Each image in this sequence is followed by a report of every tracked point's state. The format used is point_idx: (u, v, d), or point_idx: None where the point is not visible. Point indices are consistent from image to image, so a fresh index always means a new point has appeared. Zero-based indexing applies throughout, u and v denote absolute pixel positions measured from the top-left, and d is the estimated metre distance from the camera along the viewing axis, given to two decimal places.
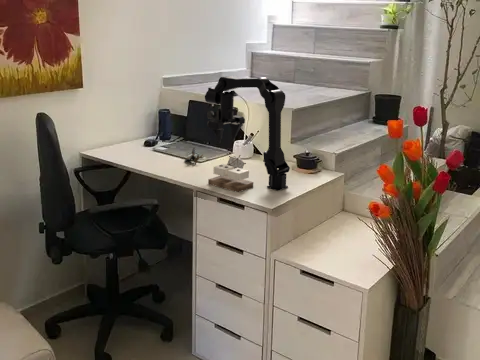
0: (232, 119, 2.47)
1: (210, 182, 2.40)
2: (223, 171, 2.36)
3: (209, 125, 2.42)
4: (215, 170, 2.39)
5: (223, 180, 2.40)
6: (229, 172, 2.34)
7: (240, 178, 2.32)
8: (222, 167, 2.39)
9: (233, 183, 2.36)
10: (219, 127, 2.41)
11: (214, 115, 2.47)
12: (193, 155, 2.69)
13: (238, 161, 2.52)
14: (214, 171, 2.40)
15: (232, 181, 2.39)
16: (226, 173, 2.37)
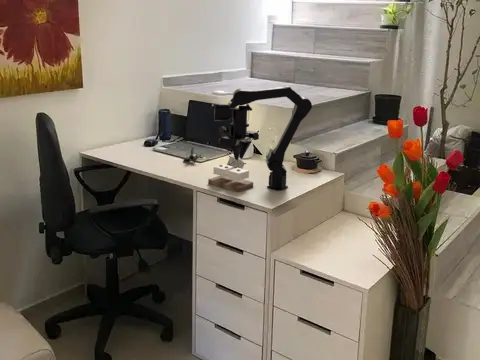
0: (245, 135, 2.29)
1: (210, 182, 2.40)
2: (223, 171, 2.36)
3: (221, 142, 2.25)
4: (215, 170, 2.39)
5: (223, 180, 2.40)
6: (229, 172, 2.34)
7: (240, 178, 2.32)
8: (222, 167, 2.39)
9: (233, 183, 2.36)
10: (232, 144, 2.23)
11: (226, 131, 2.30)
12: (192, 155, 2.70)
13: (238, 161, 2.52)
14: (214, 171, 2.40)
15: (232, 181, 2.39)
16: (226, 173, 2.37)
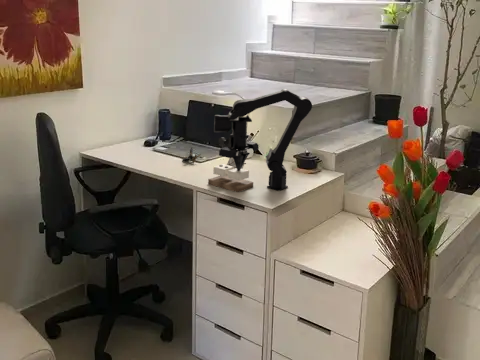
0: (245, 146, 2.31)
1: (210, 182, 2.40)
2: (223, 171, 2.36)
3: (221, 153, 2.26)
4: (215, 170, 2.39)
5: (223, 180, 2.40)
6: (229, 172, 2.34)
7: (240, 178, 2.32)
8: (222, 167, 2.39)
9: (233, 183, 2.36)
10: (232, 156, 2.25)
11: (226, 142, 2.31)
12: (191, 154, 2.70)
13: None
14: (214, 171, 2.40)
15: (232, 181, 2.39)
16: (226, 173, 2.37)
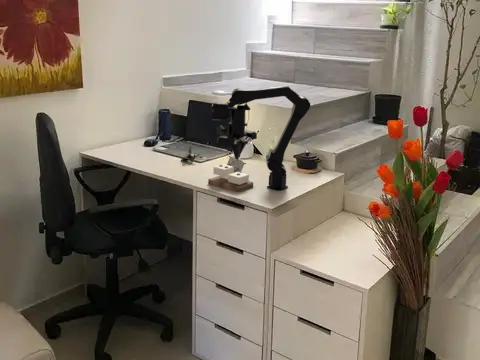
0: (244, 135, 2.30)
1: (210, 182, 2.40)
2: (223, 171, 2.36)
3: (219, 141, 2.25)
4: (215, 170, 2.39)
5: (223, 180, 2.40)
6: (229, 176, 2.35)
7: (240, 182, 2.33)
8: (222, 167, 2.39)
9: (233, 183, 2.36)
10: (230, 144, 2.24)
11: (224, 130, 2.31)
12: (190, 154, 2.71)
13: (238, 161, 2.52)
14: (214, 171, 2.40)
15: None
16: (226, 173, 2.37)
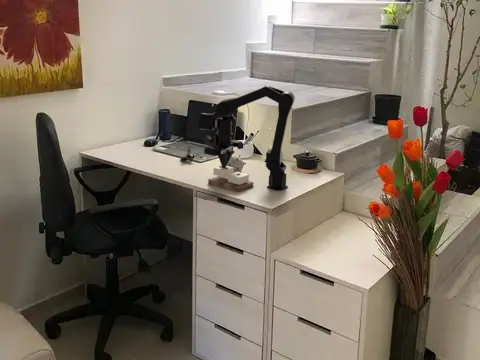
0: (230, 145, 2.36)
1: (210, 182, 2.40)
2: (223, 172, 2.36)
3: (206, 151, 2.31)
4: (215, 171, 2.39)
5: (223, 180, 2.40)
6: (229, 176, 2.35)
7: (240, 182, 2.33)
8: (222, 168, 2.39)
9: (233, 183, 2.36)
10: (216, 154, 2.30)
11: (211, 140, 2.36)
12: (189, 154, 2.72)
13: (238, 161, 2.52)
14: (214, 172, 2.40)
15: None
16: (226, 174, 2.37)
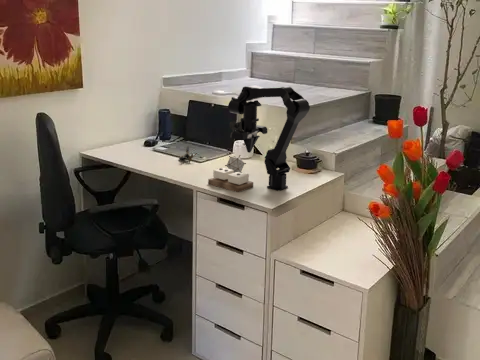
0: (256, 129, 2.41)
1: (210, 182, 2.40)
2: (223, 174, 2.37)
3: (233, 136, 2.36)
4: (215, 173, 2.40)
5: (223, 180, 2.40)
6: (229, 176, 2.35)
7: (240, 182, 2.33)
8: (222, 170, 2.39)
9: (233, 183, 2.36)
10: (243, 138, 2.35)
11: (237, 125, 2.41)
12: (187, 153, 2.72)
13: (238, 161, 2.52)
14: (214, 174, 2.40)
15: None
16: (226, 176, 2.38)
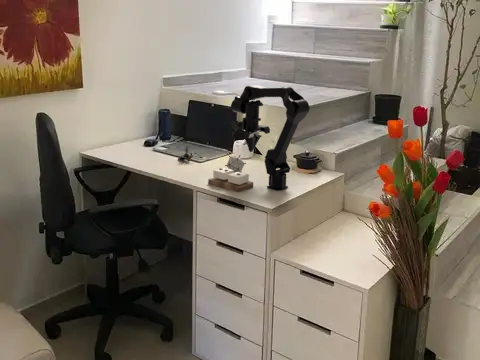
0: (257, 129, 2.41)
1: (210, 182, 2.40)
2: (223, 174, 2.37)
3: (234, 135, 2.37)
4: (215, 173, 2.40)
5: (223, 180, 2.40)
6: (229, 176, 2.35)
7: (240, 182, 2.33)
8: (222, 170, 2.39)
9: (233, 183, 2.36)
10: (245, 137, 2.35)
11: (239, 125, 2.42)
12: (186, 153, 2.72)
13: (238, 161, 2.52)
14: (214, 174, 2.40)
15: None
16: (226, 176, 2.38)
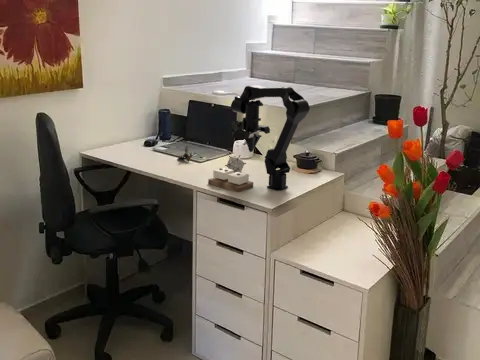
0: (257, 129, 2.41)
1: (210, 182, 2.40)
2: (223, 174, 2.37)
3: (234, 135, 2.37)
4: (215, 173, 2.40)
5: (223, 180, 2.40)
6: (229, 176, 2.35)
7: (240, 182, 2.33)
8: (222, 170, 2.39)
9: (233, 183, 2.36)
10: (245, 137, 2.35)
11: (239, 125, 2.42)
12: (186, 153, 2.73)
13: (238, 161, 2.53)
14: (214, 174, 2.40)
15: None
16: (226, 176, 2.38)
